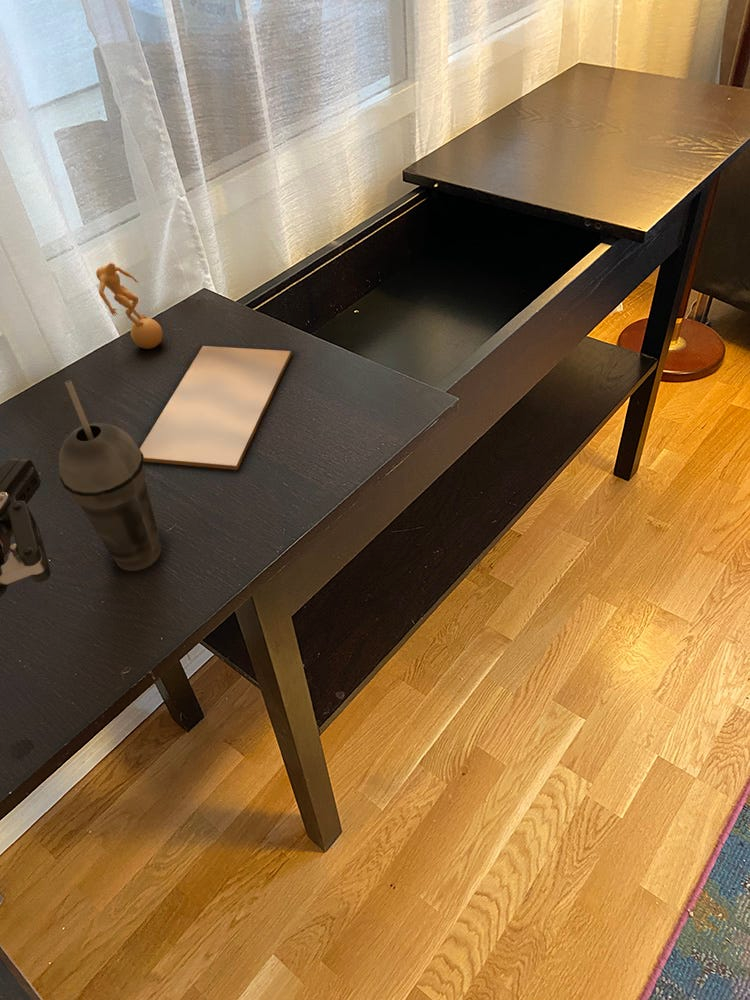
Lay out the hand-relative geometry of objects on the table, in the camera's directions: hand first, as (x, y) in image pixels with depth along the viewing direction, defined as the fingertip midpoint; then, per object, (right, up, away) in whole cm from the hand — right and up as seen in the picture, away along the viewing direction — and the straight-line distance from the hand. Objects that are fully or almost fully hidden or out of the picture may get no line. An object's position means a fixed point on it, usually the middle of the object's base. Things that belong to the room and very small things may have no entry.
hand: (26, 467), depth 58 cm
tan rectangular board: (+7, +9, +35) cm, 37 cm away
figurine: (-5, +18, +46) cm, 49 cm away
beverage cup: (+3, -8, +19) cm, 21 cm away
